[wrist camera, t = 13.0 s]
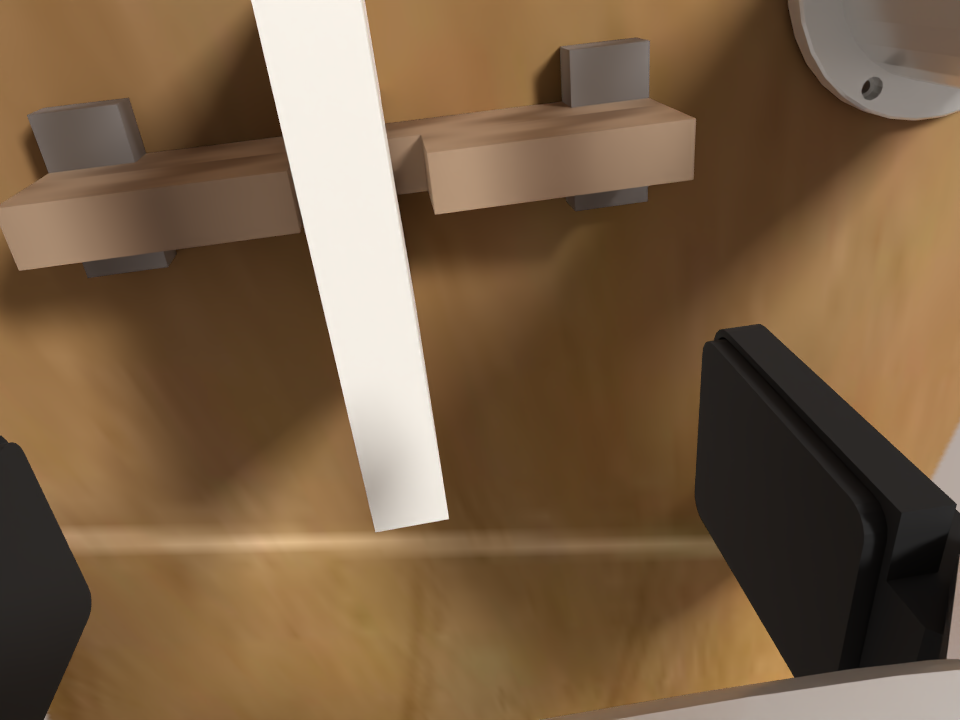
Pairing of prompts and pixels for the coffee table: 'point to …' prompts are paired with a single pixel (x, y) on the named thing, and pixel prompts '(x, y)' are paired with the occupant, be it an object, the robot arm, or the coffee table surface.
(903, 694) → the robot arm
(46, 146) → the walnut slotted board
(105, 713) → the coffee table surface
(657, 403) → the coffee table surface
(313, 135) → the pale notched plate
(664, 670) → the coffee table surface
